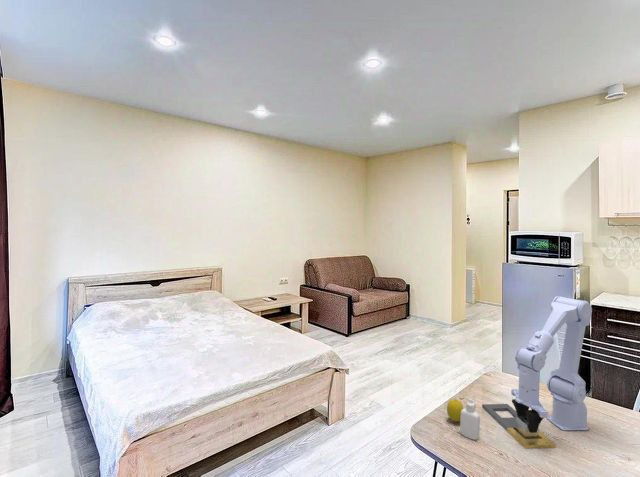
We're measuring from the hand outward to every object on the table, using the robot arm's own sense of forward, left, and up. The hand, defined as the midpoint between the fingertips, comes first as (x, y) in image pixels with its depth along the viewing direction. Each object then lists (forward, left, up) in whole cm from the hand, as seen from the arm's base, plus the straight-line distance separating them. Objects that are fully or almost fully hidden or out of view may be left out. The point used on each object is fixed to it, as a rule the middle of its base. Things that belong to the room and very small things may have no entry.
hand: (527, 427), depth 109 cm
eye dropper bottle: (+19, -1, -3) cm, 19 cm away
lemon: (+20, -9, -3) cm, 22 cm away
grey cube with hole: (0, 0, -2) cm, 3 cm away
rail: (0, -6, -3) cm, 7 cm away
